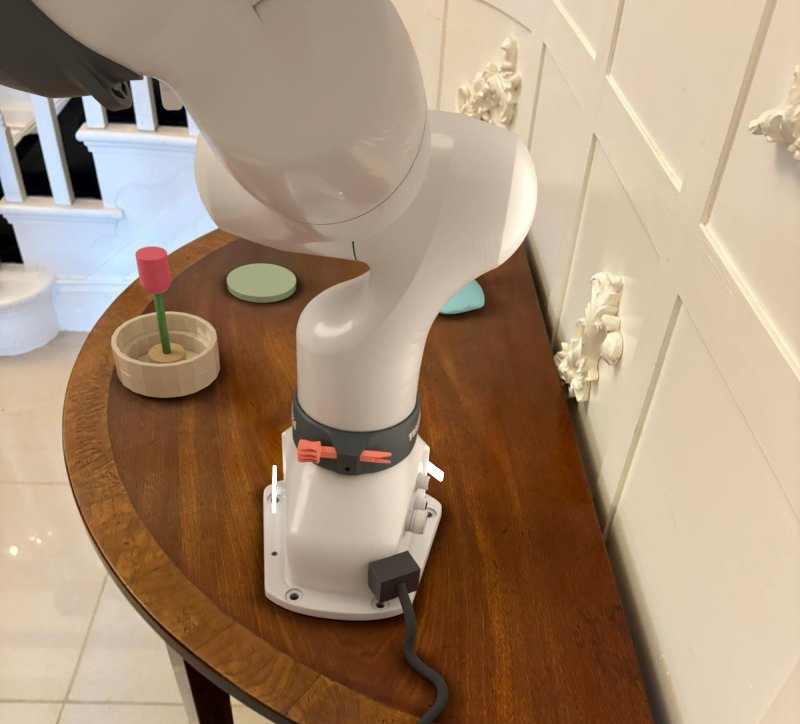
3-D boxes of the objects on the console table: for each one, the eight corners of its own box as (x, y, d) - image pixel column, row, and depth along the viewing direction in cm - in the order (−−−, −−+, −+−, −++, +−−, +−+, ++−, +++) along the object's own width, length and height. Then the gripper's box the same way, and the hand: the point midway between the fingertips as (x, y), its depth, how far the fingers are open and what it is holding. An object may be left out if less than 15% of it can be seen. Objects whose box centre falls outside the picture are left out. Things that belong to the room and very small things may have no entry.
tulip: (182, 380, 96) (165, 264, 85) (146, 377, 96) (125, 260, 85) (191, 360, 99) (176, 246, 88) (156, 357, 99) (137, 242, 88)
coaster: (290, 306, 111) (290, 299, 111) (220, 299, 111) (219, 292, 111) (301, 272, 118) (301, 266, 118) (235, 266, 118) (234, 260, 118)
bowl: (207, 406, 94) (203, 370, 90) (105, 396, 93) (96, 360, 90) (229, 351, 102) (226, 316, 99) (135, 342, 102) (129, 307, 99)
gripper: (101, -109, 73) (127, 59, 82) (112, -68, 59) (141, 128, 69) (171, -106, 74) (188, 59, 84) (198, -65, 61) (214, 126, 71)
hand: (167, 91), depth 76 cm, fingers open, 8 cm apart
